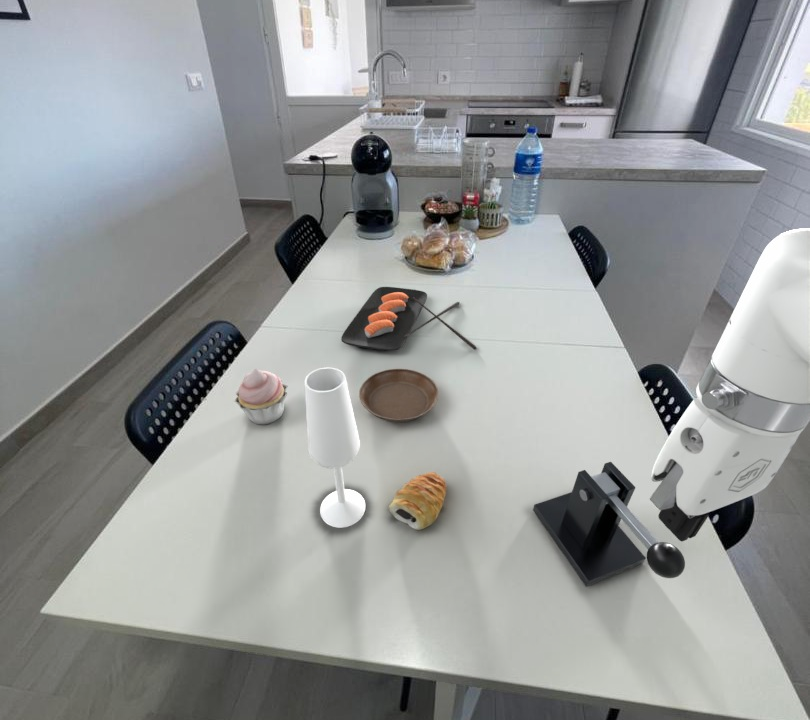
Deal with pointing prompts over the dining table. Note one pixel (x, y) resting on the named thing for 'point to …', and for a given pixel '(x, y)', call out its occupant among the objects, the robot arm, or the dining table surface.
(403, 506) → the pastry
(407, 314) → the sushi plate
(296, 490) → the dining table surface
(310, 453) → the champagne flute
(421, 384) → the saucer
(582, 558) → the black bracket piece
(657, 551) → the tap lever
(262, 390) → the cupcake
